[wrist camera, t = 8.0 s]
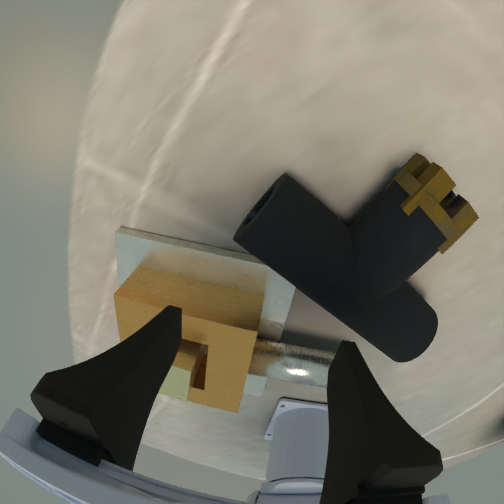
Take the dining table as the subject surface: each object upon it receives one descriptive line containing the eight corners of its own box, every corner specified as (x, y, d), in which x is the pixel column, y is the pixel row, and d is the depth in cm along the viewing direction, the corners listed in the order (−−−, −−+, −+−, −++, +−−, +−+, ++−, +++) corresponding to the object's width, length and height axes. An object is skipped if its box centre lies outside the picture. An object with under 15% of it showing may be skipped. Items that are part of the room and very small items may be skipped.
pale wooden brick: (209, 340, 27) (186, 402, 21) (182, 332, 27) (155, 391, 21) (215, 308, 25) (191, 371, 19) (186, 299, 25) (155, 359, 19)
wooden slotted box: (319, 398, 29) (318, 439, 25) (133, 355, 30) (113, 389, 26) (377, 281, 22) (391, 324, 17) (121, 226, 23) (86, 256, 18)
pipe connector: (371, 89, 12) (515, 276, 14) (353, 91, 16) (483, 240, 19) (224, 255, 17) (392, 375, 20) (242, 218, 22) (381, 329, 24)
